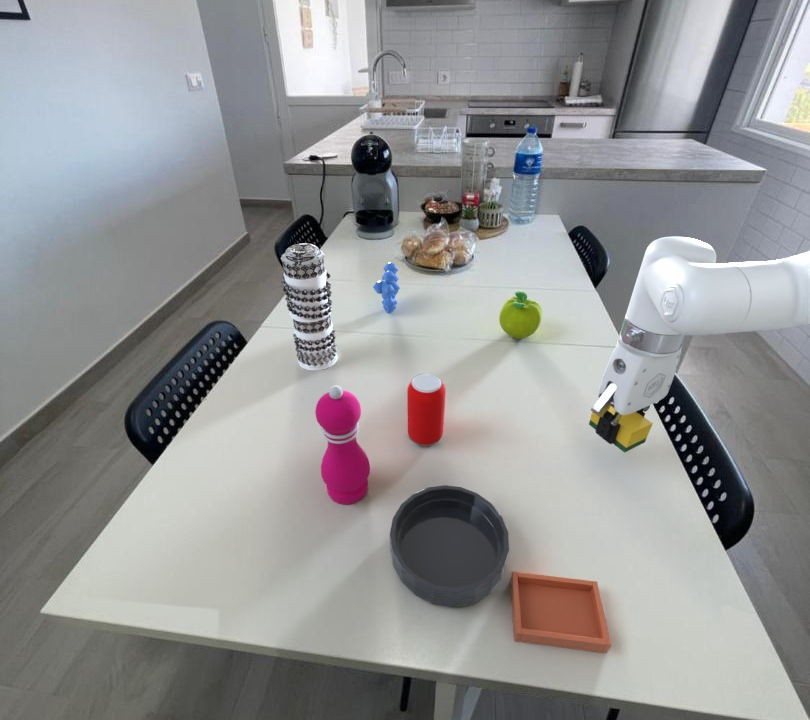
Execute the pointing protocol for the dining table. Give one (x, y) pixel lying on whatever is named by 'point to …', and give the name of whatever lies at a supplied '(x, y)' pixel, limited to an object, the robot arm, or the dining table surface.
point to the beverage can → (425, 409)
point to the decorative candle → (309, 306)
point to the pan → (449, 545)
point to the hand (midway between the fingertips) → (616, 431)
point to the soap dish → (558, 612)
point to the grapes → (388, 287)
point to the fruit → (520, 316)
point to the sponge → (627, 429)
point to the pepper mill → (342, 446)
